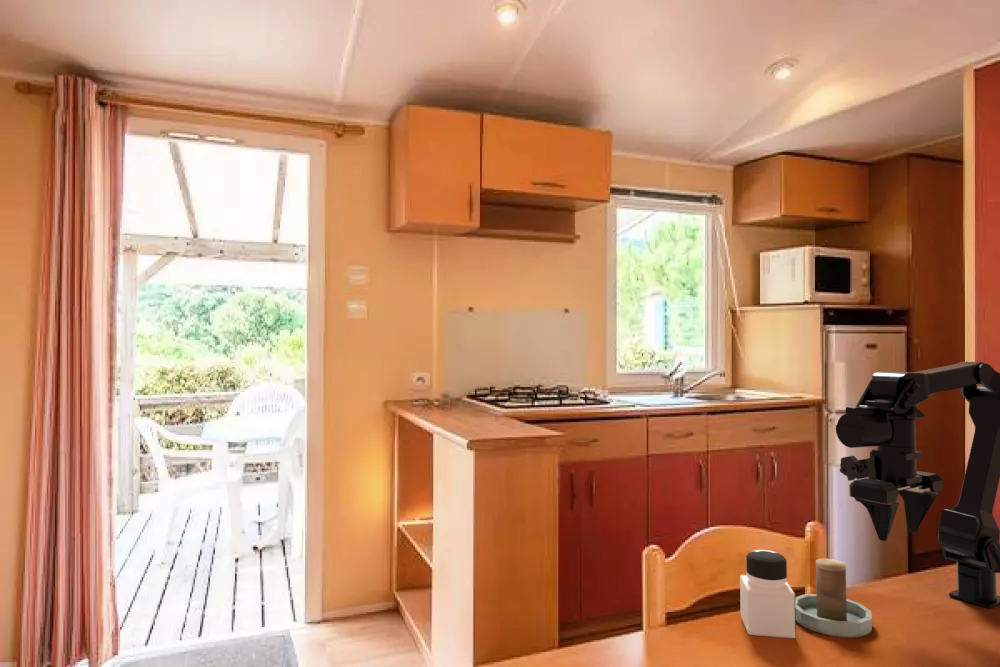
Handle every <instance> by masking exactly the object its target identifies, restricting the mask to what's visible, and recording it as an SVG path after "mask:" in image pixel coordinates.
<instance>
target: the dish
mask: <svg viewBox="0 0 1000 667" xmlns="http://www.w3.org/2000/svg"><path fill="white" fill-rule="evenodd" d="M846 604H847V621H836V620H830V619H825V618H820V617H817V593H809V594H808V593H806V594H801V595H798V596H795V614H796V623H798V624H799V625H800V626H802V627H804V628H805V629H808V630H810V631H813V632H817V633H818V634H822V635H828V636H832V637H837V636H838V638H860V637H865V636H867V635H869V634H870V633H871V632H872V631H873V627H872V625H873V624H872V622H873V620H872V618H873V617H872V611H871V610H870V609H868V608H867V607H866V606H864V605H863V604H861V603H859V602H857V601H853V600H851V599H849V598H846Z"/></svg>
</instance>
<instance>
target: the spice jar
mask: <svg viewBox="0 0 1000 667" xmlns="http://www.w3.org/2000/svg"><path fill="white" fill-rule="evenodd" d="M846 567H847V564H846V563H844V562H843V561H841V560H838V559H833V558H818V559H816V560H815V575H816V576H815V579H816V580H815V581H816V583H815V584H816V585H815V586H816V589H815V590H816V593H815V594H817V617H820V618H825V619H830V620H836V621H847V604H846V599H847V573H846V572H847V571H846V570H847V568H846Z"/></svg>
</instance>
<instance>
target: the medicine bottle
mask: <svg viewBox="0 0 1000 667" xmlns="http://www.w3.org/2000/svg"><path fill="white" fill-rule="evenodd" d="M787 560H788V559H786V557H785V556H784V555H782V554H780V553H778V552H776V551H772V550H768V549H767V550H766V549H755V550H752V551H750V552H747V554H746V574H741V575H740V577H739V587H740V588H739V589H740V590H739V591H740V598H739V600H740V618H741V620H742V623H743V625H744V627H745V629H746V632H747V635H749V636H759V637H768V638H769V637H771V638H783V639H795V638H796V637H797V631H796V630H797V628H796V627H797V626H796V624H797V622H796V614H795V597H796V593H795V592H794V590H793V589H792V587H791V586H790V584H789V582H788V575H787V574H788V572H787V565H788V564H787V563H788V561H787Z"/></svg>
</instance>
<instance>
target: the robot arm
mask: <svg viewBox="0 0 1000 667" xmlns="http://www.w3.org/2000/svg"><path fill="white" fill-rule="evenodd" d="M955 389H960V390H959V391H960V392H959V393H960V395H961V396H962V397H963V399H965V400H966V401H967V403H968V414H969V416H970V419H971V421H972V423H973V425H974V432H973V437H972V443H971V446H970V451H969V455H968V460H967V464H966V467H965V468H966V469H965V472H964V478H963V481H962V482H963V483H962V486H961V491H960V495H959V500H958V502H957V504H956V505H955V506H954V507H952V508H951V509H947V508H946V509H945V508H944V509H943V510H942V512H941V515H940V522H939V524H938V527H937V528H936V530H937V531H938V532H937V533H938V534H937V535H938V536H937V539H938V542H939V544H940V547H941V551H942V554H943V557H944V559H946V560H951V561H955V562H956V587H957V589H955V590H952V591H950V592H948V596H949V597H952V598H955V599H958V600H962V601H965V602H966V603H967V602H968V603H971V604H974V605H977V606H980V607H981V606H982V607H984V608H988V609H990V608H993V607H995V606H997V605H1000V595H998V586H997V585H998V580H997V574H1000V529H999V526H998V523H997V522H996V521H997V520H996V519H995V517H994V514H993V511H994V506H995V500H996V497H997V492H998V487H999V483H1000V372H998V371H997V370H995V369H994V367H993V366H991V365H990V364H989V363H986V362H984V361H983V362H982V361H960V362H957V363H955V364H949V365H945V366H940V367H933V368H929V369H923V370H919V371H915V372H911V371H910V372H909V371H908V372H907V371H906V372H903V371H883V370H882V371H881V370H880V371H876V372H875V373H873V374H872V375H871V379H870V381H869V383H868V384H867V386H866V388H865V390H864V391H863V393H862V395H861V397H860V398H859V401H858V402H857V403H856V406H851V405H850V406H846V407H845V413H844V414H843V415H841V416H840V417H839V419H838V421H837V424H836V425H835V434H836V436H837V439H838V440H839V442H840V444H842V445H843V446H844V447H846V448H850V449H852V448H854V449H855V448H867V447H876V448H874V449H871V450H870V452H869V457H867V458H862V459H858V458H857V457H856V456H854V455H849V456H844V457H841V458H840V464H839V465H840V468H839V472H840V473H841V474H843V475H844V476H845V477H846V478H847V481H852V482H851V483H850V484H848V486H849V487H848V488H849V489H848V490H849V492H848V493H849V494H848V495H849V497H850V498H854V500H855V501H856V502H859V503H860V504H862V506H864V507H865V508H866V510H867V512H868V514H869V517H870V519H871V521H872V524H873V527H874V529H875V533H876V535H877V537H878V540H880V541H883V542H886V541H887V540H888V538H889V536H890V533H891V530H892V527H893V523H894V521H895V518H896V514H897V510H898V508H899V504H900V502H897V500H898V498H899V496H900V497H901V499H902V500H903V505H904V515H905V521H906V526H907V531H908V532H909V533H913V534H914V533H917V531H918V529H919V527H920V525H921V524H922V522H923V520H924V519H925V517H926V515H927V513H928V512H929V510H930V508H931V506H932V505H933V503H934V502H935V499H937V497H939V494H940V493H938V492H942V491H944V487H943V486H944V485H943V484H944V481H943V479H942V478H941V477H940V476H939V474H937V473H933V472H927V471H919V470H917V459H922V451H917V437H916V436H917V432H916V430H917V429H916V428H917V426H916V419H925V417H926V414H925V413H924V412H923V411H922V410H920V409H919V408H918V407H917V405H919V404H922V403H924V402H926V401H927V400H928V399H929V397H930V396H931V395H933V394H939V393H942V392H947V391H951V390H955Z"/></svg>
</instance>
